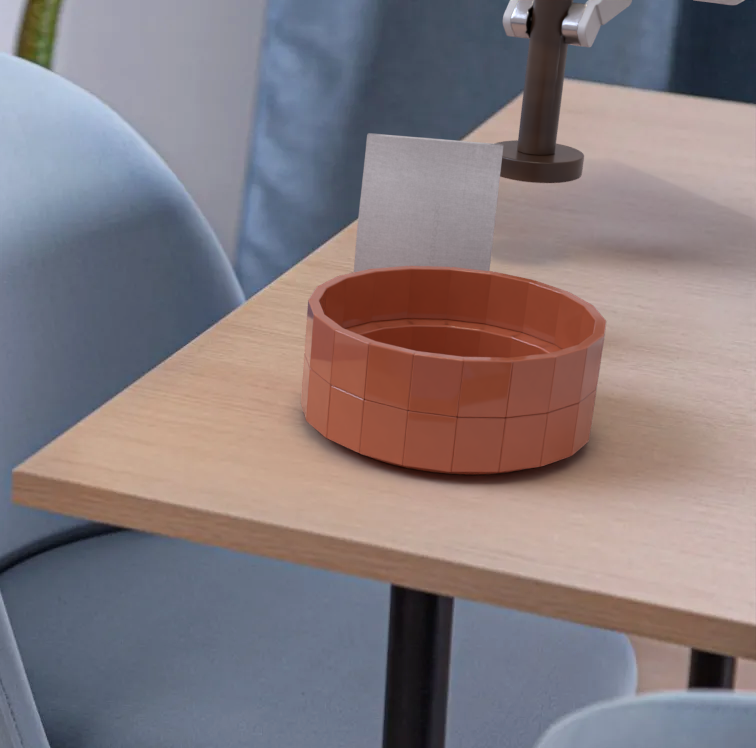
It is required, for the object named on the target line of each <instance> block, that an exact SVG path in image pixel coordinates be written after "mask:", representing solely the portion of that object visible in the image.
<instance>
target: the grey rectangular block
mask: <svg viewBox="0 0 756 748" xmlns="http://www.w3.org/2000/svg"><path fill="white" fill-rule="evenodd" d="M502 154H503V144H494V143H493V142H481V141H480V142H478V141H469V140H468V141H467V140H454V139H443V138H431V137H419V136H418V137H417V136H409V135H408V136H406V135H394V134H384V133H382V134H381V133H371V132H368V133H367V135H366V142H365V153H364V162H363V171H362V172H363V173H362V182H361V190H360V200H359V209H358V218H357V219H358V220H357V229H356V238H355V253H354V264H353V272H358V271H362V270H367V269H373V268H386V267H398V266H445V267H458V268H467V269H476V270H485V271H491V270H490V269H491V268H490V267H491V260H492V250H493V244H494V234H495V227H496V226H495V225H496V217H497V207H498V199H499V190H500V189H499V188H500V179H501V177H500V172H501V163H502Z"/></svg>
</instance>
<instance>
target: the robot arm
mask: <svg viewBox="0 0 756 748" xmlns="http://www.w3.org/2000/svg"><path fill="white" fill-rule="evenodd" d="M694 1H695V2H696V1H697V2H703V3H705V2H706V3H713V4H720V5H727V6H737V5H739V4H741V3H742V2H744V1H745V0H694ZM632 2H633V0H587V1H586V2H585V3H581V2H574V1H573V2H572V3H571V5H570V7H569V9H568V11H567V12H568V16H567V17H565V18H564V20H563V23H562V35H563V36H564V37H565V39H564V42H565V43H566V44H568V46H569V45H570V46H576V47H584V48H591V47H592V46H593V44H594V42H595V41H596V38H597V36H598V33H599V31H600V29H601V26H605V25H606V24H608V23H609V22H610V21H611V20H612V19H614V18H615V17H616V16H617V15H619V14H620V13H622V12H623V11H624V10H626V9H627V8H629V7H630V6H631V4H632ZM533 3H534V0H509V1H508V4H507V6H506V8H505V10H504V13H503V15H502V16H503V17H502V26H503V29H504V32H505V35H506V36H507V37H513V38H520V39H527V40H529V39H530V30H531V21H532V12H533Z"/></svg>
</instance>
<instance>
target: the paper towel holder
mask: <svg viewBox="0 0 756 748" xmlns="http://www.w3.org/2000/svg"><path fill="white" fill-rule="evenodd" d="M572 2H573V3H574V0H534V3H533V12H532V21H531V30H530V39H528V40H529V41H528V49H527V57H526V67H525V74H524V75H525V76H524V84H523V93H522V101H521V110H520V120H519V128H518V137H517V139H515V140H503V141H497V142H494V143H493V144H503V154H502V163H501V172H500V178H502V179H503V178H504V179H506V180H507V179H508V180H512V181H517V182H525V183H534V184H562V183H569V182H573V181H577V180H579V179H580V178H581V177H582V175H583V169H584V161H585V154H584V153H583V152H582V151H581V150H579V149H578V148H574V147H572V146H568V145H566V144H561V143H557V140H558V139H557V138H558V131H559V122H560V114H561V107H562V97H563V89H564V81H565V74H566V73H565V72H566V65H567V56H568V48H569V44H566V43H565V42H564V39H565V37H564V36H563V35H562V23H563V20H564V18H565V17H567V16H568V12H567V11H568V9H569V7H570V5H571V3H572Z"/></svg>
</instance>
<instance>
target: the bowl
mask: <svg viewBox="0 0 756 748" xmlns="http://www.w3.org/2000/svg"><path fill="white" fill-rule="evenodd" d="M306 311H307V312H306V323H305V324H306V327H305V328H306V329H305V337H304V338H305V339H304V352H303V365H302V366H303V367H302V381H301V393H300V394H301V395H300V396H301V397H300V405H301V409H302V413H303V415H304V417H305V421H306V423H308V424H309V425H310V426H311V427H312V428H314V429H315V430H316V431H317V432H318V433H320V434H321V436H323V437H324V438H325V439H328V440H330V441H332V442H334V443H336V444H338V445H340V446H342V447H345V448H347V449H348V450H351V451H353V452H355V453H357V454H360V455H363V456H366V457H368V458H370V459H373V460H376V461H379V462H383V463H386V464H389V465H393V466H398V467H402V468H405V469H406V468H407V469H411V470H416V471H417V470H418V471H424V472H429V473H430V472H431V473H439V474H448V475H450V474H451V475H476V476H477V475H497V474H505V473H512V472H518V471H523V470H528V469H533V468H535V469H536V468H540V467H544V466H547V465H551V464H554V463H557V462H558V461H563V460H565V459H567V458H570V457H572V456H574V454H576V453H578V451H580V450H581V449H582V448H583V447H585V445H586V444H588V443H589V442H590V438H591V430H592V424H593V417H594V411H595V405H596V404H595V403H596V396H597V389H598V383H599V376H600V369H601V363H602V356H603V350H604V343H605V337H606V330H607V329H606V328H607V320H606V319H605V317H604V316H603V315H602V314H601V312H599V309H597V308H596V306H595V305H593V304H591V303H589V302H588V301H586V300H584V299H583V298H581V297H579V296H577V295H576V294H574V293H572V292H570V291H568V290H565V289H561V288H559V287H556V286H553V285H550V284H547V283H544V282H541V281H539V280H535V279H531V278H526V277H521V276H518V275H512V274H507V273H502V272H499V271H492V270H489V271H485V270H476V269H467V268H458V267H445V266H398V267H386V268H373V269H367V270H362V271H358V272H354V271H353V272H350V273H345V274H340V275H337V276H335V277H333V278H331V279H328V280H326V281H325V282H322V283H321V284H318V285H317V286H316V287H315V289H314V290H313V291H312V293H311V295H310V297H309V298H308V300H307V310H306Z"/></svg>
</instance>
